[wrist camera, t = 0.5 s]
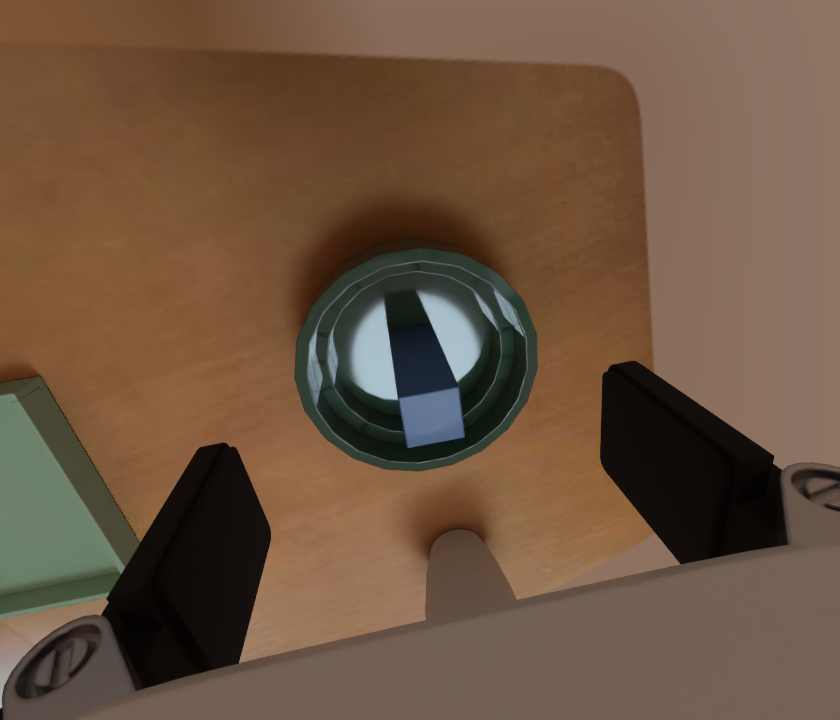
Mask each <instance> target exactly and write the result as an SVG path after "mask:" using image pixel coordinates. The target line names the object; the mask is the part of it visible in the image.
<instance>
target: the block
mask: <svg viewBox="0 0 840 720" xmlns="http://www.w3.org/2000/svg"><path fill="white" fill-rule="evenodd" d="M388 334H389V341H390V348H391V355H392V362H393V369H394V376H395V383H396V390H397V397H398V402H399V408H400V413H401V418H402V423H403V429H404V434H405V439H406V444H407V447H408V448H412V447H417V446H422V445H427V444H432V443H438V442H443V441H448V440H453V439H459V438H464V437H465V432H464V423H463V415H462V406H461V398H460V389H459V386H458V383H457V381H456V379H455V376H454V374H453V372H452V370H451V367H450V365H449V363H448V361H447V358H446V356H445V354H444V351H443V349H442V347H441V345H440V342H439V340H438V338H437V335H436V333H435V331H434V329H433V326H432V324H425V325H420V326H414V327H408V328H403V329H397V330H391V331H388Z"/></svg>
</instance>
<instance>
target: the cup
mask: <svg viewBox="0 0 840 720" xmlns="http://www.w3.org/2000/svg"><path fill="white" fill-rule="evenodd" d="M515 600H516V597H515V595H514V593H513V590H512V588H511V586H510V584H509V583H508V581H507V579H506V577H505V575H504V574H503V572H502V570H501V568H500V566H499V565H498V563H497V561H496V559H495V557H494V556H493V554H492V553H491V552H490V550H489V549H488V548H487V547H486V545H485V544H484V543H483V541H482V540H481V539H480V538H479V536H478V535H477V534H475V533H474V532H472V531H469V530H464V529H457V530H452V531H448V532H446V533H444V534H442V535H441V536H439V537H438V538H437V539H436V540H435V542H434V543H433V545H432V548H431V553H430V558H429V563H428V568H427V578H426V605H425V614H426V620H430V619H434V618H439V617H443V616H448V615H452V614H457V613H461V612H466V611H470V610H474V609H479V608H483V607H488V606H492V605H497V604H502V603H506V602H511V601H515Z"/></svg>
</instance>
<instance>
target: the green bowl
mask: <svg viewBox="0 0 840 720" xmlns="http://www.w3.org/2000/svg"><path fill="white" fill-rule="evenodd" d="M425 324H432V326H433V329H434V331H435V333H436V335H437V338H438V340H439V342H440V345H441V347H442V349H443V351H444V354H445V356H446V358H447V361H448V363H449V365H450V367H451V370H452V372H453V374H454V376H455V379H456V381H457V383H458V386H459V389H460V398H461V406H462V415H463V423H464V432H465V437H464V438H459V439H453V440H448V441H443V442H438V443H432V444H427V445H422V446H417V447H412V448H408V447H407V444H406V439H405V434H404V429H403V423H402V418H401V413H400V408H399V402H398V397H397V390H396V383H395V376H394V369H393V362H392V355H391V348H390V341H389V334H388V331H391V330H397V329H403V328H408V327H414V326H420V325H425ZM537 367H538V364H537V334H536V331H535V328H534V326H533V323H532V321H531V318H530V315H529V313H528V310H527V308H526V305H525V303H524V301H523V299H522V298H521V297H520V296H519V295H518V294H517V293H516V291H515V290H514V289H513V288H512V287H511V286H510V285H509V284H508V282H507V281H506V280H505V279H504V278H503V277H502V276H501V275H500V274H499V273H498V272H497V271H495V270H494V269H493V268H491V267H490V266H489V265H487V264H486V263H485V262H483V261H482V260H481V259H479V258H477V257H475V256H474V255H472V254H470V253H468V252H466V251H464V250H462V249H461V248H459V247H457V246H455V245H453V244H451V243H449V242H442V241H436V240H430V239H424V238H418V237H410V238H404V239H398V240H392V241H386V242H380V243H377V244H374V245H373V246H371V247H369V248H367V249H365V250H363V251H361V252H359V253H358V254H356V255H354V256H352V257H350V258H348V259H346V260H345V261H344V262H343V263H342V264H341V265H340V266H339V267H338V268H337V269H336V270H335V271H334V272H333V273H332V274H331V275H330V276H329V277H328V279H327V280H326V281H325V282H324V283H323V284H322V285H321V286H320V288H319V290H318V292H317V294H316V296H315V299H314V301H313V303H312V306H311V308H310V310H309V312H308V315H307V317H306V319H305V322H304V324H303V327H302V329H301V331H300V334H299V336H298V339H297V342H296V358H295V375H294V377H295V381H296V385H297V388H298V391H299V395H300V398H301V401H302V404H303V408H304V411H305V412H306V414H307V415H308V416H309V418H310V419H311V420H312V422H313V423H314V424H315V426H316V427H317V428H318V430H319V431H320V432H321V434H322V435H323V437H324V438H326V440H328V441H329V442H331V443H332V444H333V445H335V446H336V447H338V448H339V449H340V450H342V451H343V452H345V453H346V454H347V455H349V456H350V457H352V458H353V459H356V460H359V461H362V462H365V463H368V464H371V465H373V466H376V467H379V468H382V469H386V470H402V471H424V470H429V469H434V468H439V467H444V466H450V465H453V464H455V463H458V462H460V461H462V460H464V459H466V458H468V457H470V456H472V455H474V454H477V453H479V452H481V451H483V450H484V449H485V448H486V447H487V446H489V445H490V444H491V443H492V442H493V441H495V440H496V439H497V438H498V437H499V436H501V435H502V434H503V433H504V432H505V431H506V430H508V428H509V427H510V426H511V424H512V423H513V421H514V420H515V418H516V417H517V415H518V414H519V412H520V411H521V410H522V408H523V407H524V405H525V404H526V402H527V400H528V398H529V395H530V392H531V388H532V385H533V382H534V379H535V375H536V372H537Z"/></svg>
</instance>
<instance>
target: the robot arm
mask: <svg viewBox="0 0 840 720" xmlns="http://www.w3.org/2000/svg"><path fill="white" fill-rule="evenodd" d="M600 459H601V463H602V466H603V468H604V470H605V471H606V473H607V474H608V475H609V476H610V477H611V479H612V480H613V481H614V482H615V484H616V485H617V486H618V487H619V489H620V490H621V491H622V492H623V494H624V495H625V496H626V497H627V498H628V500H629V501H630V502H631V503H632V505H633V506H634V507H635V508H636V510H637V511H638V512H639V513H640V515H641V516H642V517H643V518H644V519H645V521H646V522H647V523H648V524H649V526H650V527H651V528H652V529H653V531H654V532H655V533H656V534H657V535H658V537H659V538H660V539H661V540H662V542H663V543H664V544H665V545H666V547H667V548H668V549H669V550H670V552H671V553H672V554H673V555H674V556H675V558H676V559H677V560H678V562H679V563H680V564H681V565H677V566H671V567H667V568H662V569H658V570H653V571H649V572H644V573H639V574H634V575H630V576H625V577H621V578H616V579H611V580H607V581H602V582H597V583H593V584H588V585H584V586H579V587H574V588H570V589H565V590H560V591H556V592H551V593H547V594H542V595H538V596H533V597H529V598H524V599H520V600H515V601H511V602H506V603H502V604H497V605H492V606H488V607H483V608H479V609H474V610H470V611H466V612H461V613H457V614H452V615H448V616H443V617H439V618H434V619H430V620H425V621H421V622H416V623H412V624H407V625H403V626H398V627H394V628H390V629H385V630H381V631H377V632H372V633H368V634H363V635H359V636H355V637H350V638H346V639H342V640H337V641H333V642H328V643H324V644H320V645H315V646H311V647H307V648H302V649H298V650H294V651H289V652H285V653H280V654H276V655H272V656H267V657H263V658H259V659H255V660H251V661H247V662H243V663H239V660H240V656H241V653H242V649H243V645H244V641H245V637H246V633H247V630H248V626H249V622H250V618H251V614H252V610H253V607H254V603H255V599H256V595H257V591H258V587H259V584H260V580H261V576H262V572H263V568H264V564H265V560H266V557H267V553H268V549H269V545H270V541H271V530H270V526H269V524H268V521H267V519H266V516H265V514H264V512H263V509H262V507H261V505H260V502H259V500H258V497H257V495H256V493H255V490H254V488H253V486H252V483H251V481H250V479H249V476H248V474H247V471H246V469H245V467H244V464H243V462H242V460H241V457H240V455H239V452H238V450H237V449H236V448H235V447H229V445H228V444H227V443H219V444H214V445H209V446H204V447H200V448H199V449H198V450H197V451H196V453H195V455H194V456H193V458H192V459H191V461H190V463H189V464H188V466H187V468H186V469H185V471H184V473H183V474H182V476H181V477H180V479H179V481H178V482H177V484H176V486H175V487H174V489H173V490H172V492H171V494H170V495H169V497H168V499H167V500H166V502H165V503H164V505H163V507H162V508H161V510H160V512H159V513H158V515H157V517H156V518H155V520H154V521H153V523H152V525H151V526H150V528H149V530H148V531H147V533H146V534H145V536H144V538H143V539H142V541H141V543H140V544H139V546H138V547H137V549H136V551H135V552H134V554H133V556H132V557H131V559H130V561H129V562H128V564H127V565H126V567H125V569H124V570H123V572H122V574H121V575H120V577H119V578H118V580H117V582H116V583H115V585H114V587H113V588H112V590H111V591H110V593H109V595H108V596H107V598H106V599H107V600H108V602H109V603H108V605H107V606H106V608H105V610H104V611H103V613H102V615H101V616H100V615H89V616H83V617H80V618H78V619H75V620H73V621H70V622H68V623H66V624H64V625H63V626H61V627H59V628H57V629H56V630H54V631H53V632H51V633H50V634H49V635H47V636H46V637H45V638H43V639H42V640H41V641H39V642H38V643H37V644H36V645H35V646H34V647H33V648H32V649H31V650H30V651H29V652H28V653H27V654H26V655H25V656H24V657H23V658H22V659H21V660H20V662H19V663H18V664H17V665H16V667H15V668H14V669H13V671H12V672H11V674H10V676H9V678H8V680H7V682H6V684H5V685H4V689H3V695H2V708H1V709H0V720H840V467H836V466H832V465H828V464H821V463H812V462H810V463H796V464H793V465H790V466H787V467H786V468H785V469H784V470H781V469H780V468H778V467H777V466H775V465H774V464H773V460H774V455H772V454H771V453H769V452H768V451H766V450H765V449H763V448H762V447H761V446H759V445H758V444H756V443H755V442H753V441H752V440H750V439H749V438H747V437H746V436H744V435H743V434H742V433H740V432H739V431H737V430H736V429H734V428H733V427H731V426H730V425H728V424H727V423H725V422H724V421H723V420H721V419H720V418H718V417H717V416H715V415H714V414H713V413H711V412H710V411H708V410H707V409H705V408H704V407H702V406H700V405H699V404H698V403H697V402H695V401H694V400H692V399H691V398H689V397H688V396H686V395H685V394H683V393H682V392H680V391H679V390H678V389H676V388H675V387H673V386H672V385H670V384H669V383H667V382H666V381H664V380H663V379H662V378H660V377H659V376H657V375H656V374H654V373H653V372H651V371H650V370H649V369H647V368H646V367H644V366H643V365H641V364H640V363H638V362H636V361H629V362H624V363H619V364H614V365H611V366H610V367H609V369H608V371H607V372H605V373H604V374H603V378H602V411H601V445H600Z"/></svg>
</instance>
